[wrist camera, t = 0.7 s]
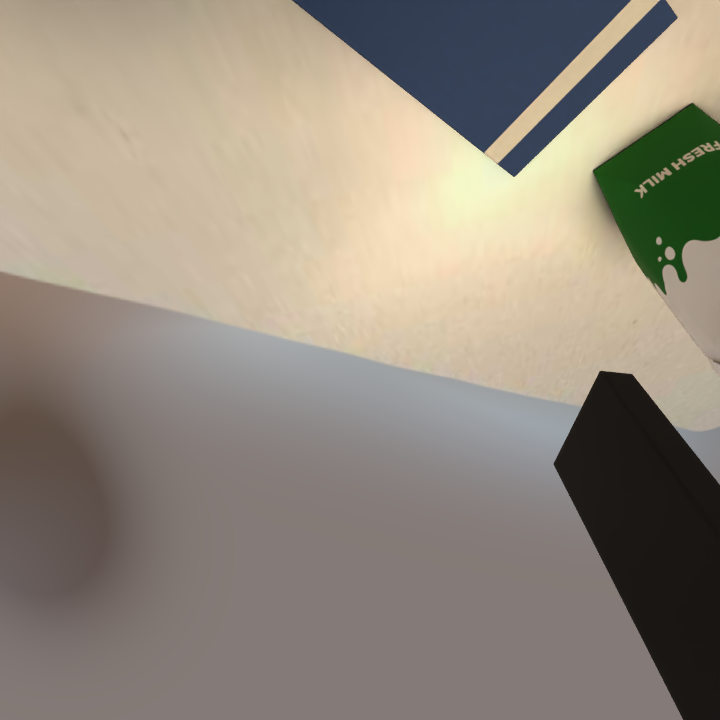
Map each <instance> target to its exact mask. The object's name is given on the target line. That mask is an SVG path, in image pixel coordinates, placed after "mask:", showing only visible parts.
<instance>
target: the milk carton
mask: <svg viewBox="0 0 720 720" xmlns="http://www.w3.org/2000/svg"><path fill="white" fill-rule="evenodd" d="M593 172H594V174H595V176H596V179H597V181H598V183H599V185H600V187H601V189H602V192H603V194H604V196H605V198H606V200H607V202H608V205H609V207H610V209H611V211H612V213H613V216H614V218H615V220H616V222H617V224H618V227H619V229H620V231H621V233H622V235H623V237H624V239H625V241H626V244H627V246H628V248H629V250H630V251H631V253H632V255H633V257H634V259H635V261H636V263H637V264H638V266H639V267H640V269H641V270H642V272H643V273H644V275H645V276H646V277H647V279H648V280H649V282H650V283H651V284H652V286H653V287H654V288H655V290H656V291H657V292H658V294H659V295H660V296H661V298H662V299H663V300H664V302H665V303H666V305H667V306H668V307H669V309H670V310H671V311H672V313H673V314H674V315H675V317H676V318H677V319H678V321H679V322H680V323H681V325H682V326H683V327H684V329H685V330H686V331H687V333H688V334H689V336H690V337H691V338H692V340H693V341H694V342H695V343H696V345H697V346H698V347H699V348H700V349H701V351H702V352H703V353H704V354H705V355H706V357H707V358H708V359H709V362H710V364H711V366H712V368H713V369H714V371H715V372H716V373H717V374H718V375H719V376H720V124H719V123H718V122H716V121H715V120H714V119H712V118H711V117H710V116H708V115H707V114H706V113H704V112H703V111H702V110H700V109H699V108H698V107H697V106H695V105H694V104H691V105H690V106H688V107H687V108H685V109H684V110H682V111H681V112H679V113H678V114H677V115H675V116H674V117H672V118H671V119H669V120H668V121H666V122H665V123H663V124H662V125H660V126H659V127H657V128H656V129H655V130H653V131H652V132H650V133H649V134H647V135H646V136H644V137H643V138H641V139H640V140H638V141H637V142H635V143H634V144H633V145H631V146H630V147H628V148H627V149H625V150H624V151H622V152H621V153H619V154H618V155H616V156H615V157H613V158H612V159H611V160H609V161H608V162H606V163H605V164H603V165H602V166H600V167H599V168H597V169H596V170H594V171H593Z"/></svg>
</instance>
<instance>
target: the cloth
mask: <svg viewBox="0 0 720 720" xmlns="http://www.w3.org/2000/svg"><path fill="white" fill-rule="evenodd" d="M292 1H294V2H295V3H296V4H297V5H299V6H300V7H301V8H302V9H304V10H305V11H306V12H307V13H309V14H310V15H311V16H312V17H314V18H315V19H316V20H318V21H319V22H320V23H321V24H323V25H324V26H325V27H326V28H328V29H329V30H330V31H331V32H333V33H334V34H335V35H336V36H338V37H339V38H340V39H341V40H343V41H344V42H345V43H346V44H348V45H349V46H350V47H351V48H353V49H354V50H355V51H356V52H358V53H359V54H360V55H361V56H363V57H364V58H365V59H366V60H368V61H369V62H370V63H371V64H373V65H374V66H375V67H376V68H378V69H379V70H380V71H381V72H383V73H384V74H385V75H387V76H388V77H389V78H390V79H392V80H393V81H394V82H395V83H397V84H398V85H399V86H400V87H402V88H403V89H404V90H405V91H407V92H408V93H409V94H410V95H412V96H413V97H414V98H415V99H417V100H418V101H419V102H420V103H422V104H423V105H424V106H425V107H427V108H428V109H429V110H430V111H432V112H433V113H434V114H435V115H437V116H438V117H439V118H440V119H442V120H443V121H444V122H445V123H447V124H448V125H449V126H451V127H452V128H453V129H454V130H456V131H457V132H458V133H459V134H461V135H462V136H463V137H464V138H466V139H467V140H468V141H469V142H471V143H472V144H473V145H474V146H476V147H477V148H478V149H479V150H481V151H482V152H483V153H484V154H486V155H487V156H488V157H489V158H491V159H492V160H493V161H494V162H496V163H497V164H498V165H499V166H501V167H502V168H503V169H504V170H506V171H507V172H508V173H509V174H511V175H512V176H513V177H515V176H516V175H517V174H518V173H519V172H520V171H521V170H522V169H523V168H524V167H525V166H526V165H527V164H528V163H529V162H530V161H531V160H532V159H533V158H534V157H535V156H537V155H538V154H539V153H540V152H541V151H542V150H543V149H544V148H545V147H546V146H547V145H548V144H549V143H550V142H551V141H552V140H553V139H554V138H555V137H556V136H557V135H558V134H559V133H560V132H561V131H562V130H563V129H564V128H565V127H566V126H567V125H568V124H569V123H570V122H571V121H572V120H573V119H574V118H576V117H577V116H578V115H579V114H580V113H581V112H582V111H583V110H584V109H585V108H586V107H587V106H588V105H589V104H590V103H591V102H592V101H593V100H594V99H595V98H596V97H597V96H598V95H599V94H600V93H601V92H602V91H603V90H604V89H605V88H606V87H607V86H608V85H609V84H610V83H611V82H612V81H613V80H615V79H616V78H617V77H618V76H619V75H620V74H621V73H622V72H623V71H624V70H625V69H626V68H627V67H628V66H629V65H630V64H631V63H632V62H633V61H634V60H635V59H636V58H637V57H638V56H639V55H640V54H641V53H642V52H643V51H644V50H645V49H646V48H647V47H648V46H649V45H650V44H651V43H653V42H654V41H655V40H656V39H657V38H658V37H659V36H660V35H661V34H662V33H663V32H664V31H665V30H666V29H667V28H668V27H669V26H670V25H671V24H672V23H673V22H674V21H675V20H676V19H677V16H676V14H675V13H674V11H673V10H672V9H671V7H670V6H669V4H668V3H667V1H666V0H292Z"/></svg>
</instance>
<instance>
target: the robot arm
mask: <svg viewBox="0 0 720 720" xmlns="http://www.w3.org/2000/svg"><path fill="white" fill-rule="evenodd" d="M554 466H555V468H556V470H557V472H558V474H559V476H560V478H561V480H562V482H563V484H564V486H565V488H566V490H567V491H568V493H569V496H570V497H571V499H572V501H573V503H574V505H575V507H576V509H577V511H578V513H579V515H580V517H581V519H582V521H583V523H584V525H585V527H586V529H587V531H588V533H589V535H590V537H591V539H592V541H593V543H594V545H595V547H596V549H597V551H598V553H599V555H600V557H601V559H602V561H603V563H604V564H605V566H606V568H607V570H608V572H609V574H610V576H611V578H612V580H613V582H614V584H615V586H616V588H617V590H618V592H619V594H620V596H621V598H622V600H623V602H624V604H625V606H626V608H627V610H628V612H629V614H630V616H631V618H632V620H633V622H634V624H635V626H636V627H637V629H638V631H639V633H640V635H641V637H642V639H643V641H644V643H645V645H646V647H647V649H648V651H649V653H650V655H651V657H652V659H653V661H654V663H655V665H656V667H657V669H658V671H659V673H660V675H661V677H662V679H663V681H664V683H665V685H666V686H667V689H668V691H669V692H670V694H671V696H672V698H673V700H674V702H675V704H676V706H677V708H678V710H679V712H680V714H681V716H682V718H683V720H720V485H719V483H718V482H717V481H716V480H715V478H714V477H713V476H712V475H711V473H710V472H709V471H708V469H707V468H706V467H705V466H704V464H703V463H702V462H701V461H700V459H699V458H698V457H697V456H696V454H695V453H694V452H693V451H692V449H691V448H690V447H689V445H688V444H687V443H686V442H685V440H684V439H683V438H682V437H681V435H680V434H679V433H678V432H677V431H676V429H675V428H674V426H673V425H672V424H671V423H670V421H669V420H668V419H667V418H666V416H665V415H664V414H663V413H662V411H661V410H660V409H659V408H658V406H657V405H656V404H655V402H654V401H653V400H652V399H651V397H650V396H649V395H648V394H647V392H646V391H645V390H644V389H643V387H642V386H641V385H640V383H639V382H638V381H637V380H636V378H635V377H634V376H633V375H632V374H625V373H616V372H606V371H600V372H599V374H598V376H597V378H596V380H595V382H594V384H593V386H592V388H591V390H590V392H589V394H588V396H587V398H586V400H585V402H584V404H583V406H582V408H581V410H580V412H579V414H578V416H577V418H576V420H575V422H574V424H573V426H572V428H571V430H570V432H569V435H568V436H567V438H566V440H565V442H564V444H563V446H562V448H561V450H560V452H559V454H558V456H557V458H556V460H555V462H554Z"/></svg>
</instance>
